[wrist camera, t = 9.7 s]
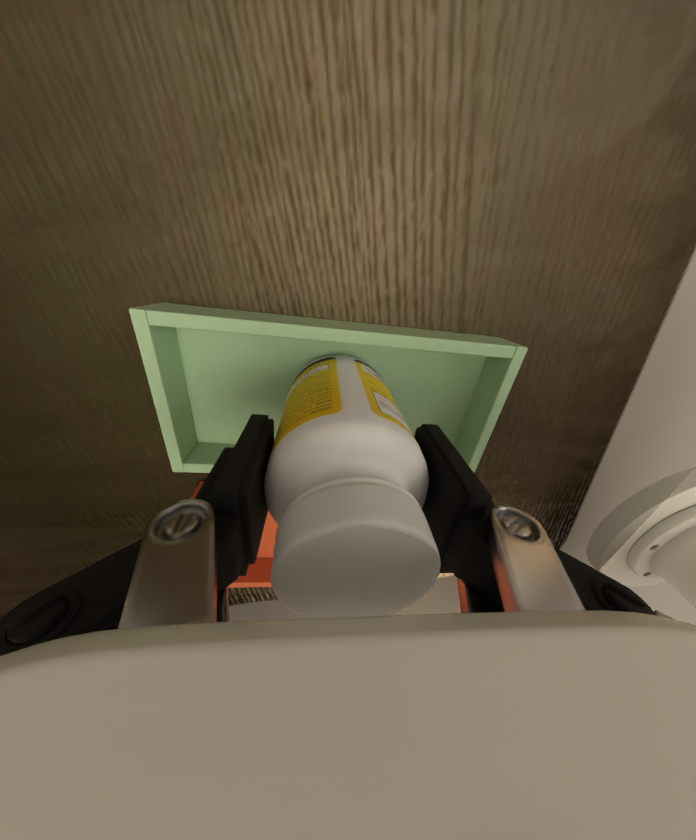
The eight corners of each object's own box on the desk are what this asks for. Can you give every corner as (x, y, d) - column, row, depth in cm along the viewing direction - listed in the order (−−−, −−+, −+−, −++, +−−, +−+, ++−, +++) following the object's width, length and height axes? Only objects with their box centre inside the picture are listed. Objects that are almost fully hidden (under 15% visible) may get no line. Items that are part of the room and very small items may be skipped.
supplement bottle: (285, 436, 15) (235, 638, 7) (292, 344, 13) (227, 481, 4) (374, 446, 16) (429, 636, 8) (397, 361, 14) (517, 504, 5)
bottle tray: (498, 336, 14) (529, 347, 12) (453, 456, 18) (471, 481, 16) (162, 302, 12) (127, 307, 10) (192, 445, 16) (172, 472, 14)
